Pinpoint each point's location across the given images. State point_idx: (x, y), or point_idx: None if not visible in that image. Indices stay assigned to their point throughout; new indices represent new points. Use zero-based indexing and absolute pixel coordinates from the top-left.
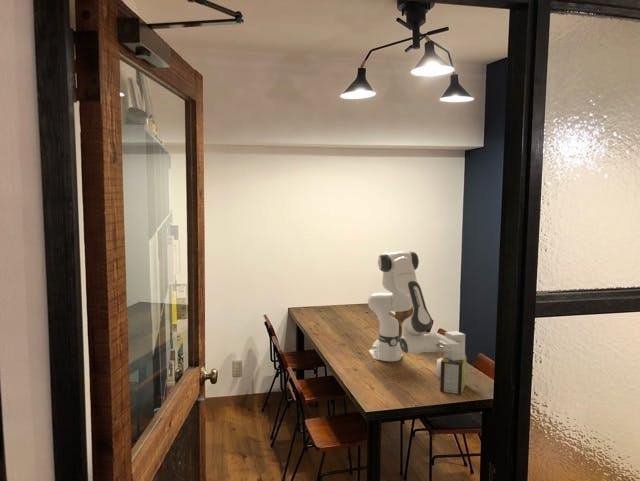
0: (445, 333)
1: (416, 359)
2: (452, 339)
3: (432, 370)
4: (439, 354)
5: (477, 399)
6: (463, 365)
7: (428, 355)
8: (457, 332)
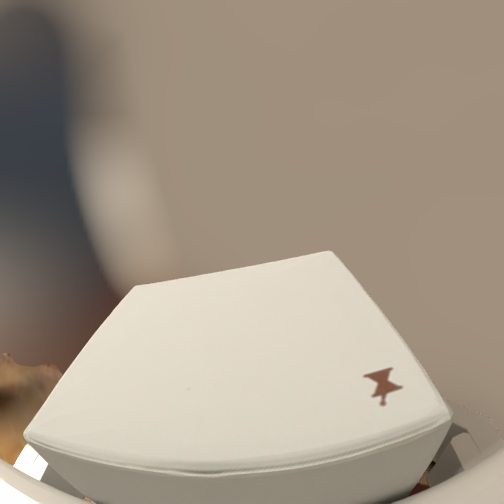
0: (52, 459)
1: (8, 459)
2: (402, 484)
3: (86, 498)
4: (37, 393)
5: (428, 484)
6: None
7: (20, 415)
8: (200, 291)
